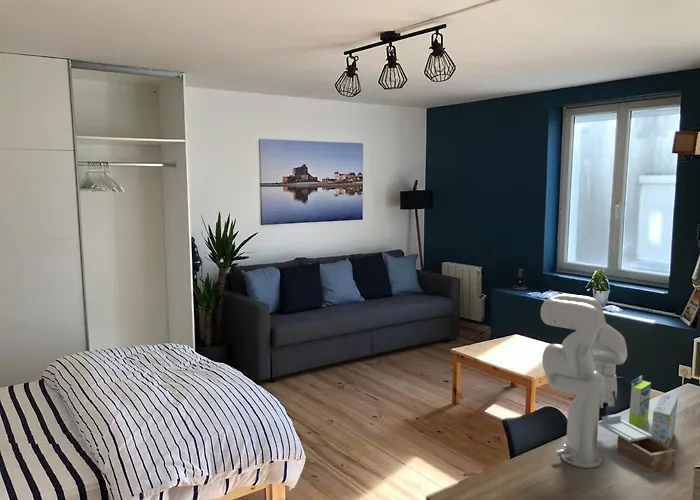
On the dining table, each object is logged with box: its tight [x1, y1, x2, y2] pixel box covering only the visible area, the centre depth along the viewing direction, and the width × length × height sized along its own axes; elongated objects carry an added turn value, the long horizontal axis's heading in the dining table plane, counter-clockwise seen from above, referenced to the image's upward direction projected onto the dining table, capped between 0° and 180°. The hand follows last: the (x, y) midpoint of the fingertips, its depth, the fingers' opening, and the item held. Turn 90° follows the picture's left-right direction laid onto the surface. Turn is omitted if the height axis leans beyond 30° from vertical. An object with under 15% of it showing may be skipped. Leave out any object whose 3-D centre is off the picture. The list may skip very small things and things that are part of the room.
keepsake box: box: [616, 435, 676, 474], centre depth 186 cm, size 10×14×6 cm
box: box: [628, 375, 652, 428], centre depth 214 cm, size 10×4×17 cm, turn 132°
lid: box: [598, 413, 653, 442], centre depth 194 cm, size 10×14×3 cm
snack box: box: [650, 393, 679, 448], centre depth 198 cm, size 21×6×15 cm, turn 143°
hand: (600, 416), depth 204 cm, fingers closed
